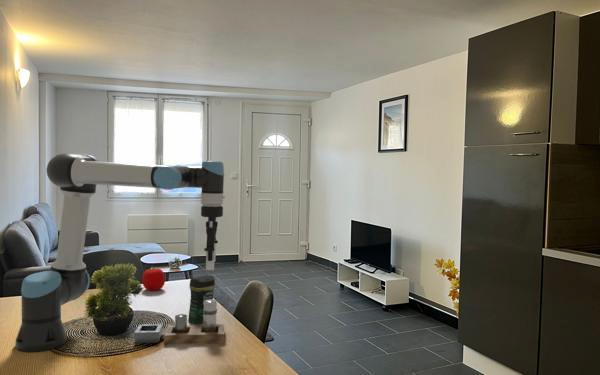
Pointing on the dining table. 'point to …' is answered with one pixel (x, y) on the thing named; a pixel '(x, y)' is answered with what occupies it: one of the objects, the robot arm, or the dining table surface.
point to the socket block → (148, 333)
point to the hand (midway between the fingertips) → (210, 265)
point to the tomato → (153, 279)
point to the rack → (194, 335)
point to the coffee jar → (200, 297)
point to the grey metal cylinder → (210, 315)
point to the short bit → (181, 323)
